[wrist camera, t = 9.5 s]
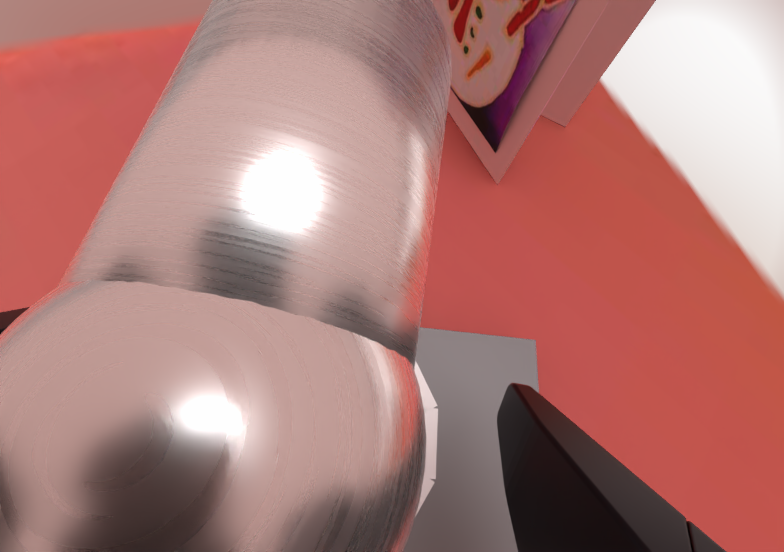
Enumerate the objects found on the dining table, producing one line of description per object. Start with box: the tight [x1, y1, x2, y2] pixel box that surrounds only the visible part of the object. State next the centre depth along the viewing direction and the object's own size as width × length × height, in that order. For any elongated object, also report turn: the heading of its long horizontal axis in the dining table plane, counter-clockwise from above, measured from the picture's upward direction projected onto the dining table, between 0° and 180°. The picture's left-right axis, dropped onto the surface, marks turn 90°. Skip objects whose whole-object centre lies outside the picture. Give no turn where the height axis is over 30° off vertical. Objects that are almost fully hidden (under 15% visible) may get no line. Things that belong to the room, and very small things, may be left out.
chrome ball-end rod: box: [0, 0, 452, 552], centre depth 9 cm, size 8×4×13 cm, turn 171°
